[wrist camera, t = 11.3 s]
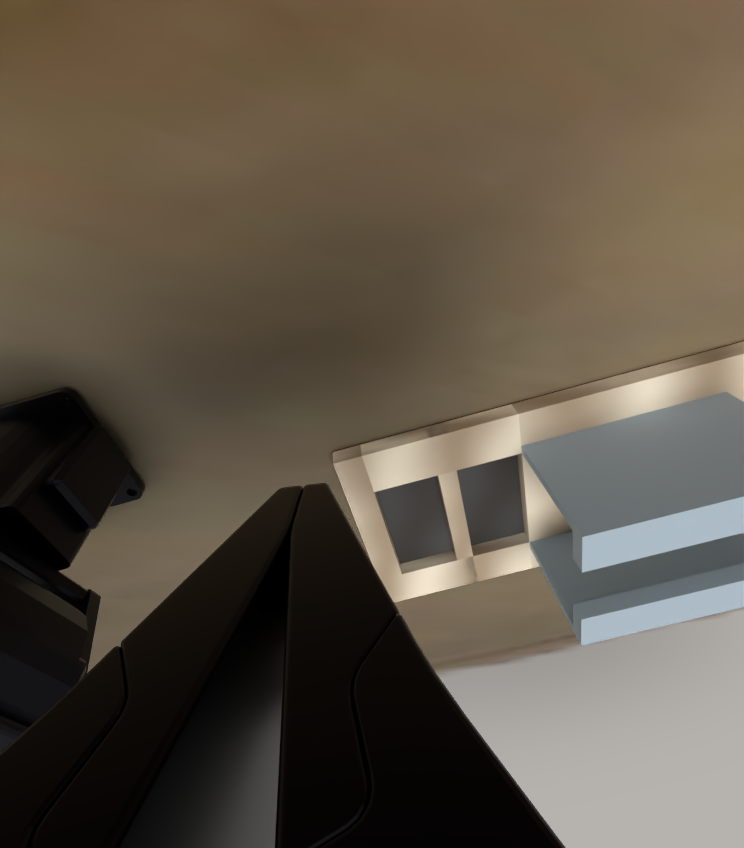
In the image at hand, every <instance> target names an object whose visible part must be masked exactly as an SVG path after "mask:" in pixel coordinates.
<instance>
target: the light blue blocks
mask: <svg viewBox="0 0 744 848" xmlns="http://www.w3.org/2000/svg"><path fill="white" fill-rule="evenodd" d="M521 448H522V454H523V456H524V457H525V459H526V460H527V462H528V463H529V465H530V466H531V468H532V469H533V471H534V472H535V474H536V476H537V477H538V479H539V480H540V482H541V483H542V485H543V486H544V488H545V489H546V491H547V492H548V494H549V495H550V497H551V498H552V500H553V501H554V503H555V505H556V506H557V508H558V509H559V511H560V512H561V514H562V515H563V517H564V518H565V520H566V521H567V523H568V524H569V526H570V527H571V529H572V530H573V531H572V532H568V533H564V534H560V535H556V536H552V537H548V538H544V539H540V540H536V541H532V542H530V548H531V550H532V552H533V554H534V556H535V558H536V560H537V562H538V564H539V566H540V568H541V570H542V572H543V573H544V575H545V577H546V579H547V581H548V583H549V585H550V587H551V589H552V591H553V593H554V595H555V596H556V598H557V600H558V602H559V604H560V606H561V608H562V610H563V612H564V614H565V616H566V618H567V619H568V621H569V623H570V625H571V627H572V629H573V631H574V633H575V635H576V637H577V639H578V641H579V642H580V644H581V646H582V645H586V644H590V643H594V642H598V641H602V640H607V639H611V638H615V637H619V636H623V635H628V634H632V633H636V632H640V631H644V630H649V629H653V628H657V627H661V626H665V625H670V624H674V623H678V622H682V621H686V620H691V619H695V618H699V617H703V616H707V615H712V614H716V613H720V612H724V611H728V610H733V609H737V608H741V607H744V536H743V535H742V534H741V533H744V402H743V401H741V400H739V399H738V398H736V397H734V396H733V395H731V394H729V393H728V392H723V393H719V394H715V395H712V396H708V397H704V398H700V399H697V400H693V401H689V402H685V403H681V404H678V405H674V406H670V407H666V408H663V409H659V410H655V411H651V412H647V413H644V414H640V415H636V416H632V417H628V418H625V419H621V420H617V421H613V422H610V423H606V424H602V425H598V426H594V427H591V428H587V429H583V430H579V431H575V432H572V433H568V434H564V435H560V436H557V437H553V438H549V439H545V440H541V441H538V442H534V443H530V444H526V445H523V446H521Z"/></svg>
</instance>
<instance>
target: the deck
mask: <svg viewBox="0 0 744 848" xmlns="http://www.w3.org/2000/svg"><path fill="white" fill-rule="evenodd" d="M723 392H728V393H729V394H731V395H733V396H734V397H736V398H738V399H739V400H741V401H743V402H744V341H743V342H739V343H736V344H732V345H728V346H725V347H721V348H717V349H713V350H710V351H706V352H702V353H699V354H695V355H691V356H687V357H684V358H680V359H676V360H673V361H669V362H665V363H661V364H658V365H654V366H650V367H647V368H643V369H639V370H636V371H632V372H628V373H624V374H621V375H617V376H613V377H610V378H606V379H602V380H598V381H595V382H591V383H587V384H584V385H580V386H576V387H572V388H569V389H565V390H561V391H558V392H554V393H550V394H547V395H543V396H539V397H535V398H532V399H528V400H524V401H521V402H517V403H513V404H509V405H506V406H502V407H498V408H495V409H491V410H487V411H484V412H480V413H476V414H472V415H469V416H465V417H461V418H458V419H454V420H450V421H446V422H443V423H439V424H435V425H432V426H428V427H424V428H420V429H417V430H413V431H409V432H406V433H402V434H398V435H395V436H391V437H387V438H383V439H380V440H376V441H372V442H369V443H365V444H361V445H357V446H354V447H350V448H346V449H343V450H339V451H335V452H333V465H334V468H335V470H336V473H337V475H338V478H339V480H340V483H341V485H342V488H343V491H344V493H345V496H346V498H347V501H348V503H349V506H350V508H351V511H352V514H353V516H354V519H355V521H356V524H357V526H358V529H359V531H360V534H361V537H362V539H363V542H364V544H365V547H366V549H367V552H368V555H369V557H370V560H371V562H372V565H373V566H374V568H375V570H376V572H377V573H378V575H379V577H380V579H381V581H382V582H383V584H384V586H385V588H386V590H387V591H388V593H389V595H390V597H391V598H392V600H393V602H398V601H402V600H406V599H410V598H414V597H418V596H422V595H426V594H430V593H434V592H438V591H442V590H446V589H450V588H454V587H458V586H462V585H466V584H470V583H474V582H478V581H482V580H486V579H490V578H494V577H498V576H502V575H506V574H510V573H514V572H518V571H522V570H526V569H530V568H534V567H538V566H539V564H538V562H537V560H536V558H535V556H534V554H533V552H532V550H531V548H530V542H532V541H536V540H540V539H544V538H548V537H552V536H556V535H560V534H564V533H568V532H572V531H573V530H572V529H571V527H570V526H569V524H568V523H567V521H566V520H565V518H564V517H563V515H562V514H561V512H560V511H559V509H558V508H557V506H556V505H555V503H554V501H553V500H552V498H551V497H550V495H549V494H548V492H547V491H546V489H545V488H544V486H543V485H542V483H541V482H540V480H539V479H538V477H537V476H536V474H535V472H534V471H533V469H532V468H531V466H530V465H529V463H528V462H527V460H526V459H525V457H524V456H523V454H522V448H521V446H523V445H526V444H530V443H534V442H538V441H541V440H545V439H549V438H553V437H557V436H560V435H564V434H568V433H572V432H575V431H579V430H583V429H587V428H591V427H594V426H598V425H602V424H606V423H610V422H613V421H617V420H621V419H625V418H628V417H632V416H636V415H640V414H644V413H647V412H651V411H655V410H659V409H663V408H666V407H670V406H674V405H678V404H681V403H685V402H689V401H693V400H697V399H700V398H704V397H708V396H712V395H715V394H719V393H723Z"/></svg>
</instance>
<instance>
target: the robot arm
mask: <svg viewBox="0 0 744 848" xmlns="http://www.w3.org/2000/svg"><path fill="white" fill-rule="evenodd" d="M62 397H65V398H67V399H68V400H70V403H68V402H66V401H65V400H63V398H62ZM131 489H135V490H136V491H133V490H131ZM144 491H145V487H144V485H143V483H142V482H141V480H140V479H139V478H138V476H137V475H136V473H135V472H134V471H133V469H132V468H131V465H130V464H129V462H128V461H127V460H126V458H125V457H124V455H123V454H122V453H121V451H120V450H119V448H118V447H117V446H116V444H115V443H114V442H113V440H112V439H111V437H110V436H109V435H108V433H107V432H106V430H105V429H104V428H103V427H102V426H101V425H100V423H99V422H98V421H97V419H96V418H95V417H94V415H93V414H92V412H91V411H90V410H89V408H88V407H87V405H86V404H85V403H84V401H83V400H82V398H81V397H80V396H79V394H78V393H77V392H76V391H74V390H72V389H69V388H60V389H57V390H53V391H50V392H47V393H43V394H40V395H36V396H33V397H29V398H26V399H22V400H19V401H15V402H12V403H8V404H5V405H1V406H0V848H565V846H564V845H563V844H562V843H561V841H560V840H559V839H558V837H557V836H556V835H555V833H554V832H553V831H552V829H551V828H550V827H549V825H548V824H547V823H546V821H545V820H544V819H543V817H542V816H541V815H540V813H539V812H538V811H537V809H536V808H535V807H534V805H533V804H532V803H531V801H530V800H529V799H528V797H527V796H526V795H525V793H524V792H523V791H522V790H521V788H520V787H519V785H518V784H517V783H516V781H515V780H514V779H513V778H512V776H511V775H510V774H509V772H508V771H507V770H506V768H505V767H504V766H503V764H502V763H501V762H500V760H499V759H498V758H497V756H496V755H495V754H494V752H493V751H492V750H491V748H490V747H489V746H488V744H487V743H486V742H485V741H484V739H483V738H482V736H481V735H480V734H479V732H478V731H477V730H476V728H475V727H474V726H473V725H472V723H471V722H470V721H469V719H468V718H467V717H466V715H465V714H464V712H463V711H462V710H461V708H460V707H459V705H458V704H457V702H456V701H455V700H454V698H453V697H452V695H451V694H450V692H449V691H448V690H447V688H446V687H445V685H444V684H443V683H442V681H441V680H440V678H439V677H438V675H437V674H436V672H435V671H434V669H433V668H432V666H431V664H430V663H429V661H428V659H427V658H426V656H425V654H424V653H423V651H422V650H421V648H420V646H419V645H418V643H417V641H416V640H415V638H414V636H413V635H412V633H411V631H410V629H409V627H408V626H407V624H406V622H405V620H404V619H403V617H402V616H401V615H400V613H399V611H398V609H397V607H396V606H395V604H394V602H393V600H392V598H391V597H390V595H389V593H388V591H387V590H386V588H385V586H384V584H383V582H382V581H381V579H380V577H379V575H378V573H377V572H376V570H375V568H374V566H373V565H372V563H371V561H370V559H369V557H368V556H367V554H366V552H365V550H364V548H363V547H362V545H361V543H360V541H359V539H358V538H357V536H356V534H355V532H354V531H353V529H352V527H351V525H350V523H349V522H348V520H347V518H346V516H345V514H344V513H343V511H342V509H341V507H340V505H339V504H338V502H337V500H336V498H335V497H334V495H333V493H332V491H331V489H330V488H329V486H328V485H327V484H326V483H320V484H311V485H306V486H305V487H304V488H303V487H301V486H293V487H284V488H280V489H279V490H277V491H276V492H275V493H274V494H273V495H272V496H271V497H270V498H269V499H268V500H267V501H266V502H265V503H264V504H263V505H262V506H261V507H260V508H259V509H258V510H257V511H256V512H255V513H254V514H253V515H252V516H251V517H250V518H249V519H248V520H246V521H245V522H244V523H243V524H242V525H241V526H240V527H239V528H238V529H237V530H236V531H235V532H234V533H233V534H232V535H231V536H230V537H229V538H228V539H227V540H226V541H225V542H224V543H223V544H222V545H221V546H220V547H219V548H218V549H217V550H216V551H215V552H213V553H212V554H211V555H210V556H209V557H208V558H207V559H206V560H205V561H204V562H203V563H202V564H201V565H200V566H199V567H198V568H197V569H196V570H195V571H194V572H193V573H192V574H191V575H190V576H189V577H188V578H187V579H186V580H185V581H184V582H183V583H182V584H180V585H179V586H178V587H177V588H176V589H175V590H174V591H173V592H172V593H171V594H170V595H169V596H168V597H167V598H166V599H165V600H164V601H163V602H162V603H161V604H160V605H159V606H158V607H157V608H156V609H155V610H154V611H153V612H152V613H151V614H150V615H149V616H147V617H146V618H145V619H144V620H143V621H142V622H141V623H140V624H139V625H138V626H137V627H136V628H135V629H134V630H133V631H132V632H131V633H130V634H129V635H128V636H127V637H126V638H125V639H124V640H123V641H122V642H121V647H119V646H116V647H114V648H113V649H112V650H111V651H110V652H109V653H108V654H107V655H106V656H105V657H104V658H103V659H102V660H101V661H100V662H99V663H98V664H97V665H96V666H95V667H93V668H92V669H91V670H90V671H89V672H88V673H87V670H88V664H89V659H90V653H91V648H92V642H93V637H94V631H95V626H96V620H97V615H98V609H99V604H100V598H101V596H99V595H98V594H96V593H95V592H94V591H92V590H90V589H89V590H86V589H84V588H83V587H81V586H80V585H78V584H77V583H75V582H74V581H72V580H71V579H70V578H68V577H67V576H65V575H64V574H62V573H61V572H59V570H62V569H66V568H68V567H70V565H71V563H72V562H73V560H74V558H75V557H76V555H77V553H78V552H79V550H80V548H81V546H82V545H83V543H84V541H85V540H86V538H87V536H88V535H89V533H90V531H91V530H92V529H95V528H96V527H98V525H99V523H100V521H101V520H102V518H103V516H104V515H105V513H106V511H107V510H108V508H109V507H111V506H115V505H118V504H122V503H126V502H129V501H133V500H137V499H139V498H140V497H141V496H142V495H143V493H144Z"/></svg>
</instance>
